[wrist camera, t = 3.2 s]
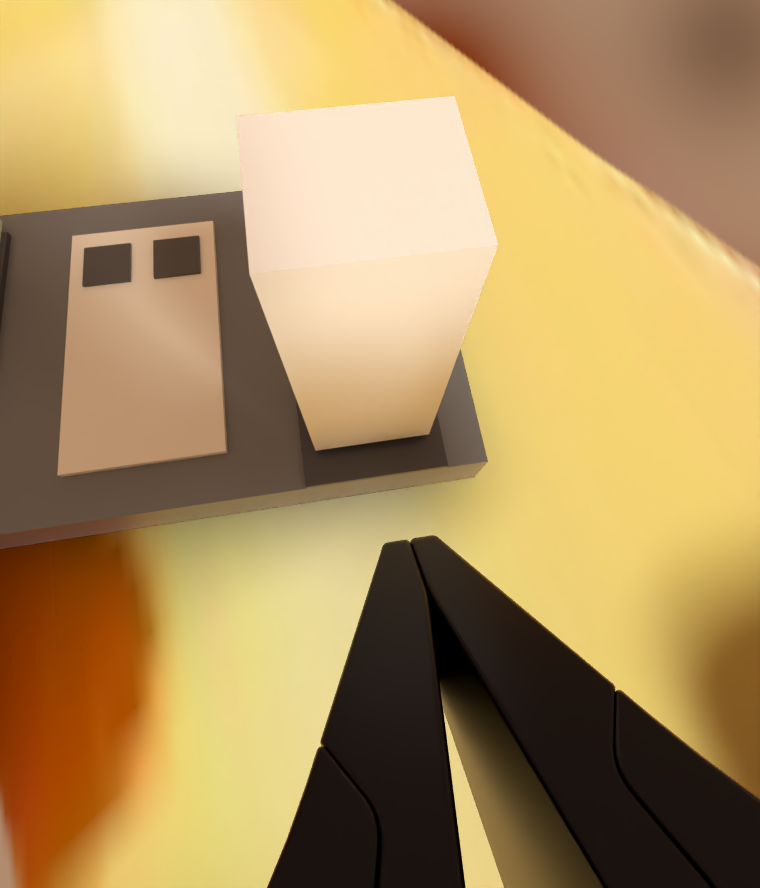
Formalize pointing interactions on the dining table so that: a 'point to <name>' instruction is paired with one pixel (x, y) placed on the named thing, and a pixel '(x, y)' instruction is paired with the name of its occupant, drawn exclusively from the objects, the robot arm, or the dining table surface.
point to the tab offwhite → (365, 258)
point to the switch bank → (167, 381)
